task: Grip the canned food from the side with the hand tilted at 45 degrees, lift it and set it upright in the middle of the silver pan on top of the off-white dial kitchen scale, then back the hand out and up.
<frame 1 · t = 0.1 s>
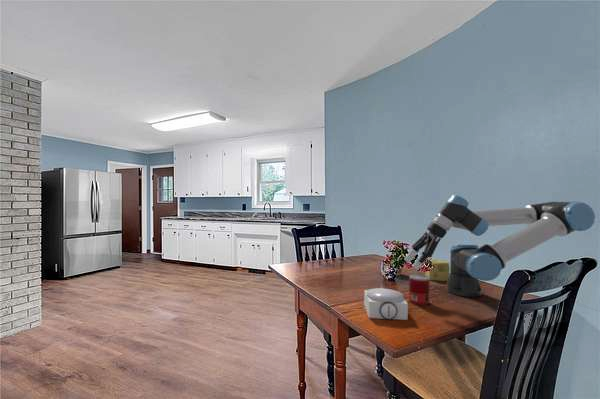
hand: (410, 264, 131), 15 cm above the table, tool tilted 35°, fingers open, 13 cm apart
cheese: (436, 278, 166), on the table
kitchen scale: (384, 311, 116), on the table
ceramic cup: (397, 274, 174), on the table
canned food: (418, 302, 127), on the table
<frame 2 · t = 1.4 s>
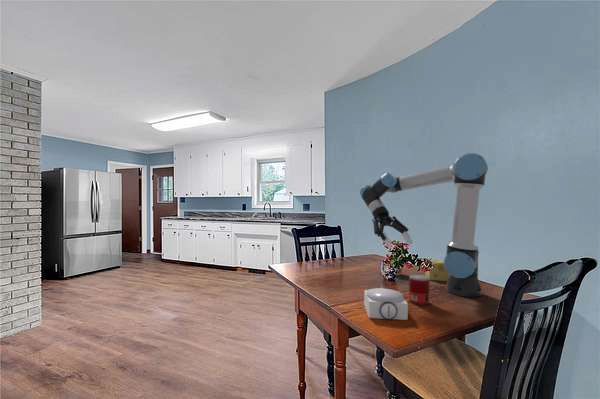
hand: (400, 244, 136), 23 cm above the table, tool tilted 45°, fingers open, 13 cm apart
nothing on the table moved.
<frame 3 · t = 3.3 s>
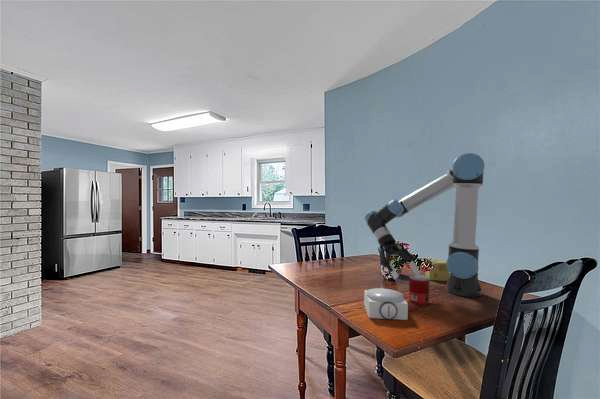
hand: (407, 276, 132), 10 cm above the table, tool tilted 45°, fingers open, 13 cm apart
nothing on the table moved.
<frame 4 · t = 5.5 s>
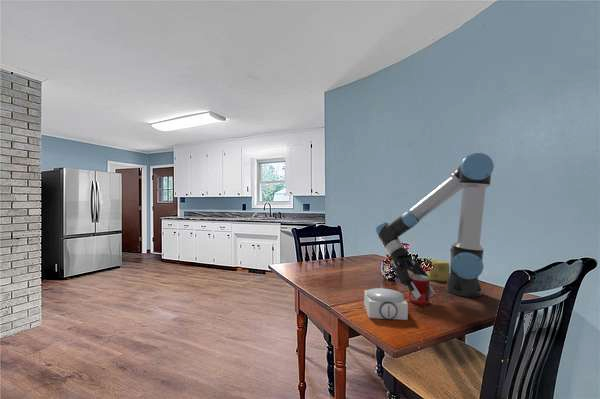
hand: (425, 296, 124), 4 cm above the table, tool tilted 45°, fingers closed on canned food, 8 cm apart
canned food: (418, 302, 127), on the table, touching gripper
everything else where it was.
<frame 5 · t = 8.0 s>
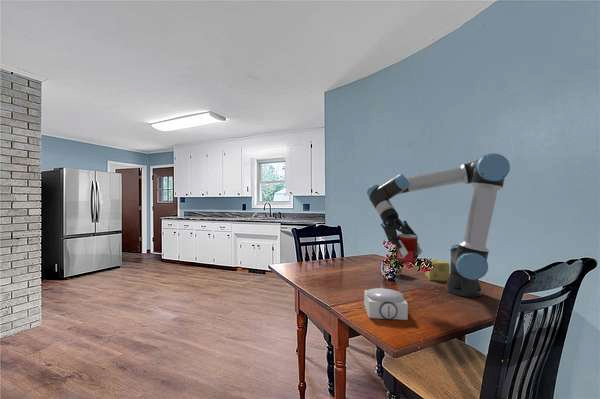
hand: (413, 254, 122), 22 cm above the table, tool tilted 45°, fingers closed on canned food, 8 cm apart
canned food: (406, 261, 126), point 18 cm above the table, touching gripper
everything else where it was.
when the fingers open (12 cm above the table, at t = 10.9 s): canned food drops 1 cm, resting on kitchen scale.
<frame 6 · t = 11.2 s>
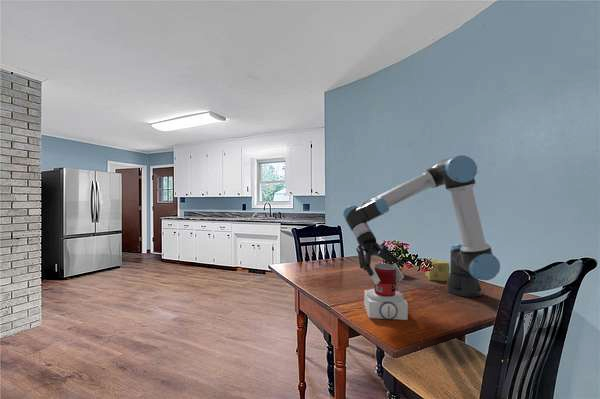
hand: (390, 280, 113), 13 cm above the table, tool tilted 45°, fingers open, 11 cm apart
canned food: (384, 294, 116), point 7 cm above the table, touching kitchen scale
everything else where it was.
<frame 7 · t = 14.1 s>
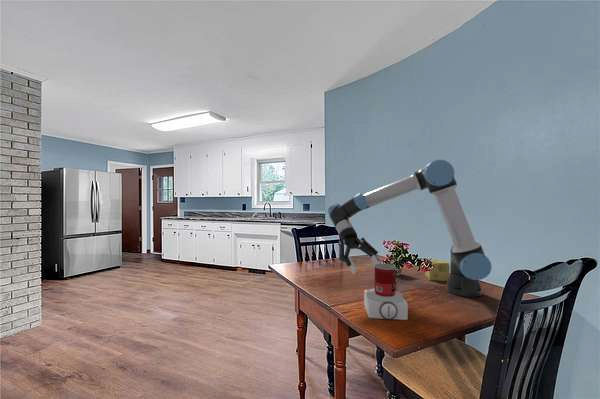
hand: (367, 270, 125), 14 cm above the table, tool tilted 45°, fingers open, 13 cm apart
nothing on the table moved.
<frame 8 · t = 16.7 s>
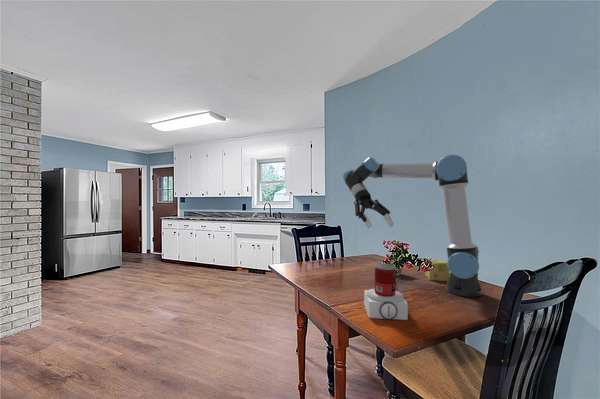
hand: (381, 226, 137), 32 cm above the table, tool tilted 45°, fingers open, 13 cm apart
nothing on the table moved.
at the end: canned food inside the target area on the kitchen scale (0.2 cm from its centre), point 6.8 cm above the kitchen scale's base; canned food tilted 0°; the gripper is holding nothing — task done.
